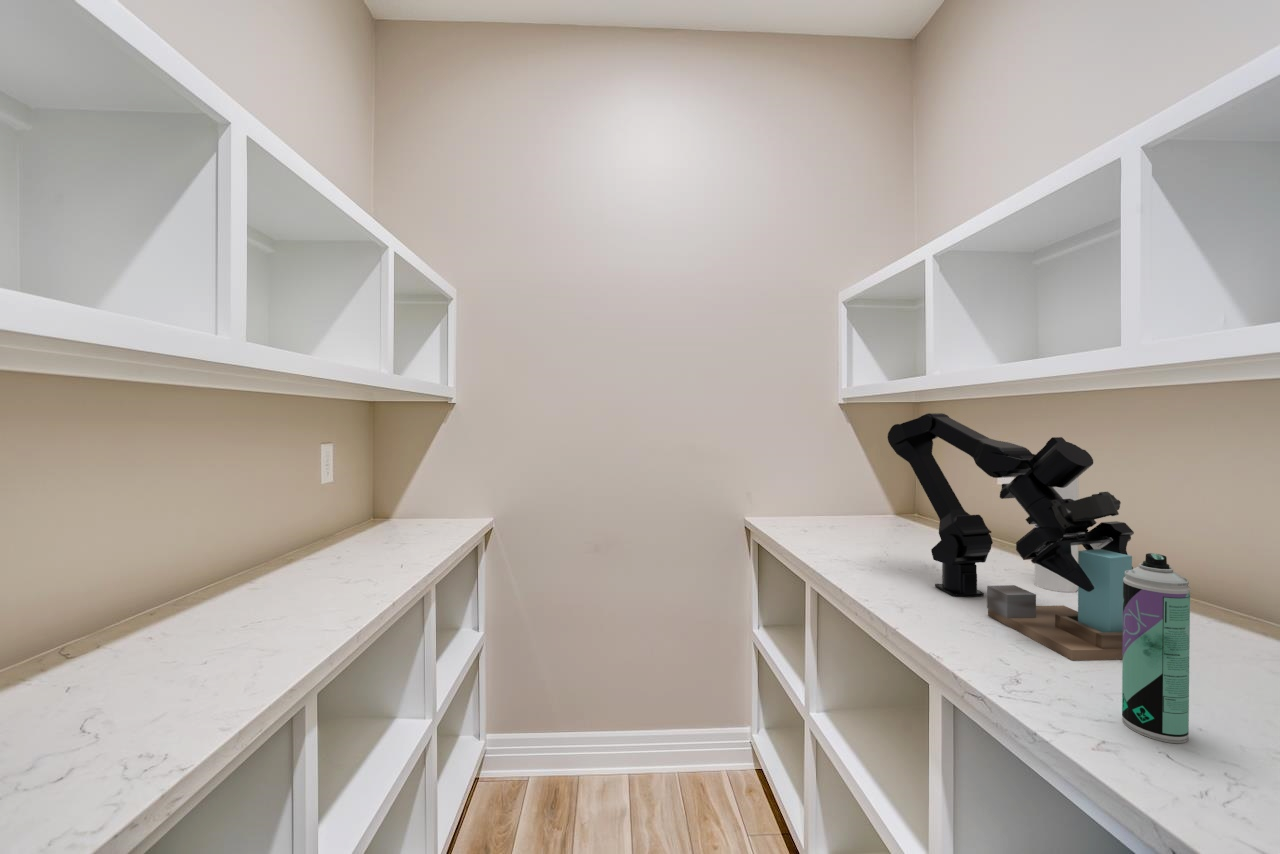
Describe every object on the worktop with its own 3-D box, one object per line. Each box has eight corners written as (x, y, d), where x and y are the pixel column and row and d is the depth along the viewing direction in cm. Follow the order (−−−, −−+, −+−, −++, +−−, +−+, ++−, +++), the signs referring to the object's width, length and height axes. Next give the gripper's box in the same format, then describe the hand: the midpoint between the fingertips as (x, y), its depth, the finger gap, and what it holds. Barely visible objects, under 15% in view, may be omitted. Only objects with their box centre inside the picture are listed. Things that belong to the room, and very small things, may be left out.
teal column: (1077, 632, 84) (1078, 550, 84) (1099, 629, 86) (1099, 548, 85) (1109, 644, 80) (1109, 558, 80) (1131, 640, 81) (1132, 555, 81)
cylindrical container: (1037, 589, 110) (1038, 468, 110) (1031, 579, 117) (1032, 465, 116) (1081, 594, 107) (1082, 470, 107) (1072, 584, 113) (1073, 467, 113)
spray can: (1153, 714, 64) (1155, 548, 63) (1203, 742, 58) (1205, 561, 58) (1109, 716, 64) (1110, 549, 63) (1155, 744, 58) (1156, 561, 58)
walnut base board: (985, 615, 96) (985, 584, 96) (1063, 613, 96) (1063, 583, 96) (1068, 660, 78) (1068, 623, 78) (1164, 658, 78) (1164, 621, 78)
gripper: (1033, 476, 84) (1110, 565, 73) (1121, 473, 89) (1205, 555, 78) (988, 517, 92) (1052, 603, 81) (1071, 512, 96) (1141, 592, 86)
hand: (1114, 587), depth 81 cm, fingers open, 9 cm apart
